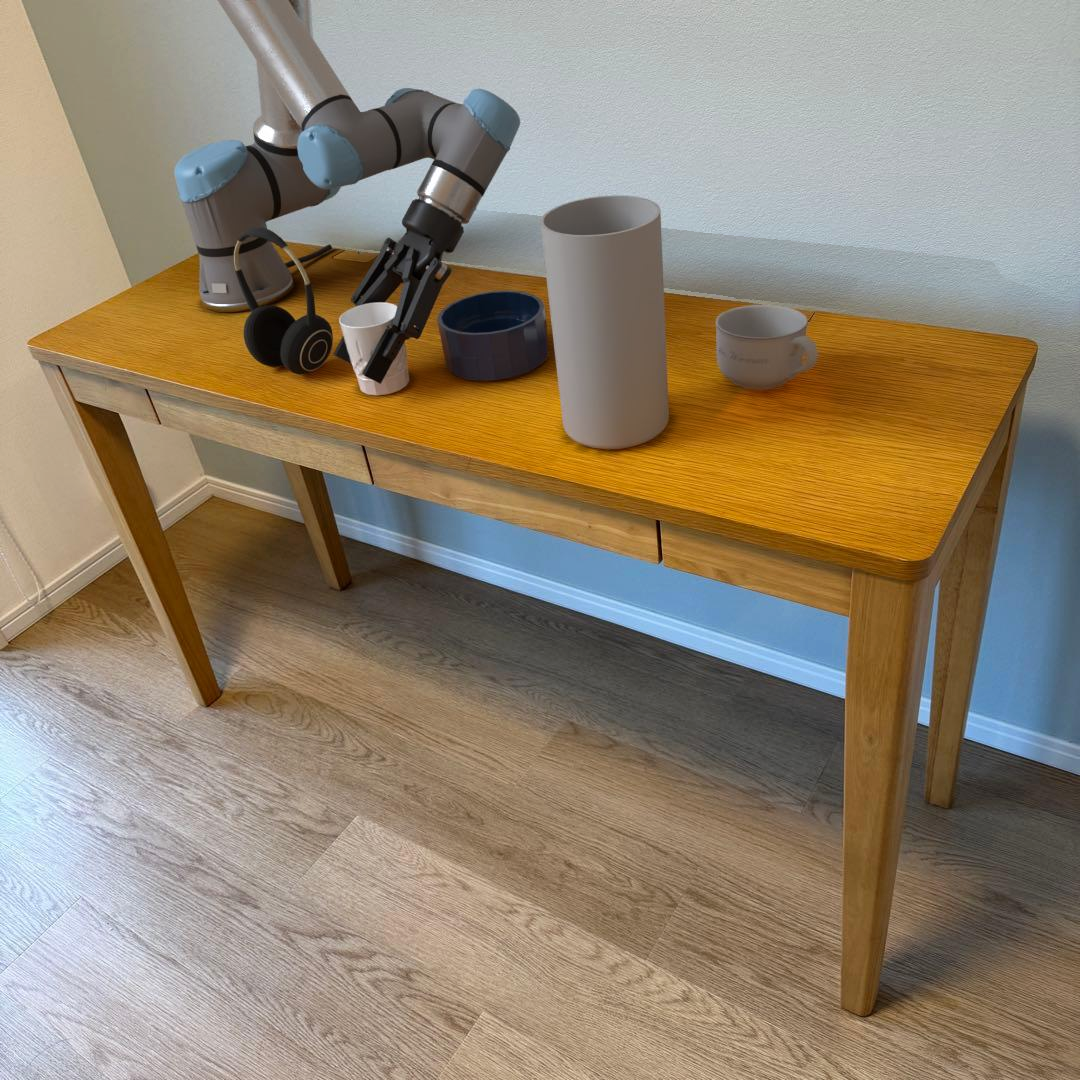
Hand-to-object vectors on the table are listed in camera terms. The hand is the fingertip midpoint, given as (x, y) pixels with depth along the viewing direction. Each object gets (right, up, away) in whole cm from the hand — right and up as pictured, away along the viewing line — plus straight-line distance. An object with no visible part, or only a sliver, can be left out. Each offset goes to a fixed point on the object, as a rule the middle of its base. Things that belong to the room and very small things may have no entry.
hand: (356, 368), depth 131 cm
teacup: (+52, -3, -8) cm, 53 cm away
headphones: (-10, +2, +11) cm, 15 cm away
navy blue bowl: (+18, +2, +6) cm, 19 cm away
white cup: (+3, -2, +4) cm, 5 cm away
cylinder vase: (+33, -9, -12) cm, 36 cm away
